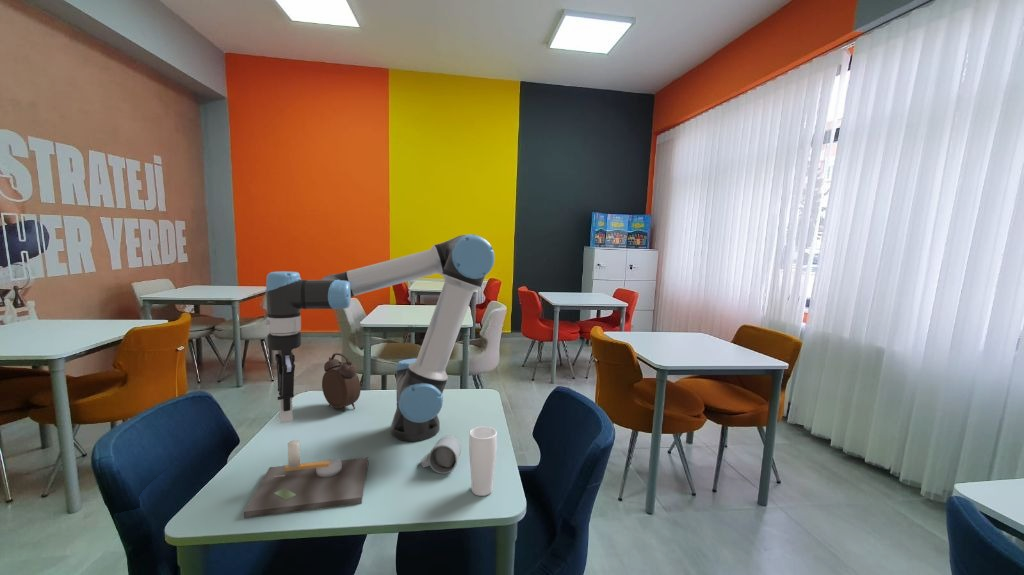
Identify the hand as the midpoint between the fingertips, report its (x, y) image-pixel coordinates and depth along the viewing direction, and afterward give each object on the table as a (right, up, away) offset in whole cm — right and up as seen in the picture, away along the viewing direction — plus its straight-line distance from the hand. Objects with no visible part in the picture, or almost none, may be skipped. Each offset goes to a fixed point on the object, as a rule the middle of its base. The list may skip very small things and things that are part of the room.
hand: (286, 421), depth 108 cm
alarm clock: (-2, -8, +40) cm, 41 cm away
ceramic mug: (+40, -14, +4) cm, 42 cm away
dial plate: (+10, -14, -7) cm, 19 cm away
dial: (+9, -12, -3) cm, 15 cm away
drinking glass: (+52, -15, -7) cm, 54 cm away
